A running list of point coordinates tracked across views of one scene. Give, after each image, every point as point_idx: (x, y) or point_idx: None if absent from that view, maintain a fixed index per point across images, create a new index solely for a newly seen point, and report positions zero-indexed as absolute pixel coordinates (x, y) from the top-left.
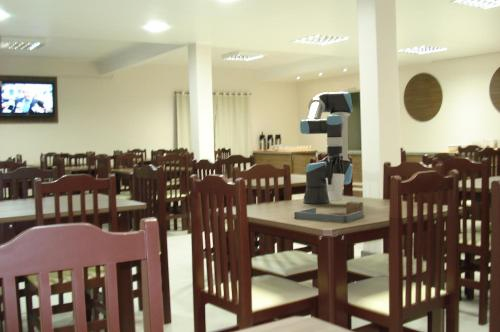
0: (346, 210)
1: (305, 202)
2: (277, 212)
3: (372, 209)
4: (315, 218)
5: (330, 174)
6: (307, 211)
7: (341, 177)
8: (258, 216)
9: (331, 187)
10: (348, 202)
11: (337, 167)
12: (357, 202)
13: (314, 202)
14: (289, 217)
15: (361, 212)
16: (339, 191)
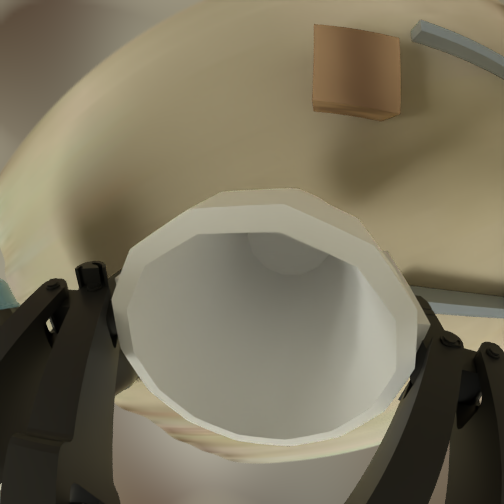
0: (386, 118)
1: (137, 377)
2: None
3: (143, 81)
4: None
5: (493, 368)
6: (461, 300)
7: (333, 213)
8: None
9: None
10: (380, 102)
11: (97, 422)
12: (353, 47)
13: None
14: (489, 329)
15: (440, 29)
16: (325, 202)
